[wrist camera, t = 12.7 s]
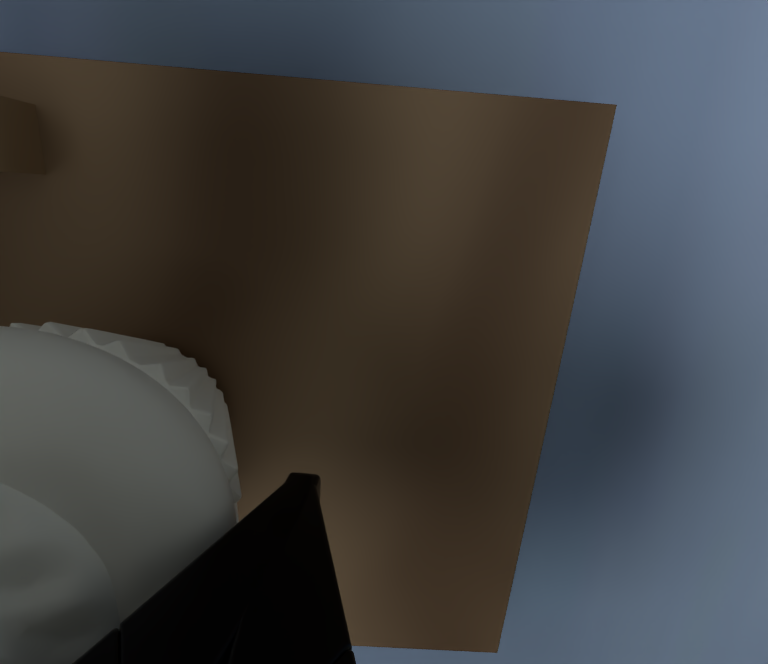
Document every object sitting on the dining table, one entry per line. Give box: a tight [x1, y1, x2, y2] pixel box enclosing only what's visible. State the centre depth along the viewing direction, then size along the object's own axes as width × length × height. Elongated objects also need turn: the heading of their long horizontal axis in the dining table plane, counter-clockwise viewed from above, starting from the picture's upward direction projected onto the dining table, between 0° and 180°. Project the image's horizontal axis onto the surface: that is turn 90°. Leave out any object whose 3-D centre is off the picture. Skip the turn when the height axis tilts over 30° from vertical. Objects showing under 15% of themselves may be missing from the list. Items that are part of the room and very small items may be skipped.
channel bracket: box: [0, 52, 617, 653], centre depth 9 cm, size 16×14×4 cm
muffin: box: [0, 322, 242, 664], centre depth 6 cm, size 6×6×7 cm
